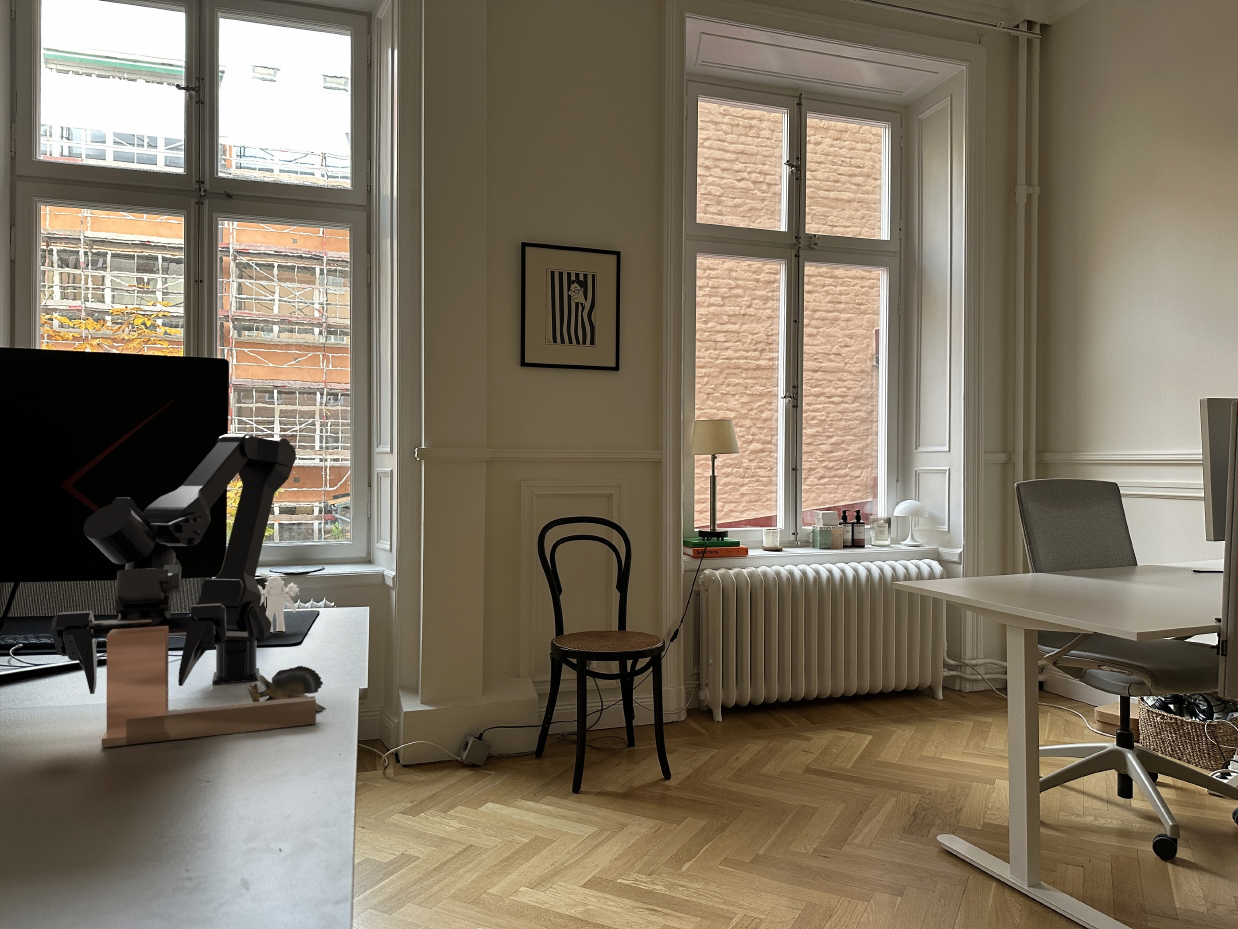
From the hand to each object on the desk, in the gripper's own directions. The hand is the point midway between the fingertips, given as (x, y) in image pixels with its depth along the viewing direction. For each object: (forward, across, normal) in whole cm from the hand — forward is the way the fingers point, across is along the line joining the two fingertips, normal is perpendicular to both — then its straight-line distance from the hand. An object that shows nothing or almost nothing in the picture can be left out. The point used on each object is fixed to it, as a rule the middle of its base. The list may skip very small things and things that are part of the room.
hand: (136, 688), depth 100 cm
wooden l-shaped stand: (+1, +8, +8) cm, 11 cm away
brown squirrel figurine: (0, +17, +9) cm, 19 cm away
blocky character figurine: (-43, +16, +52) cm, 70 cm away
